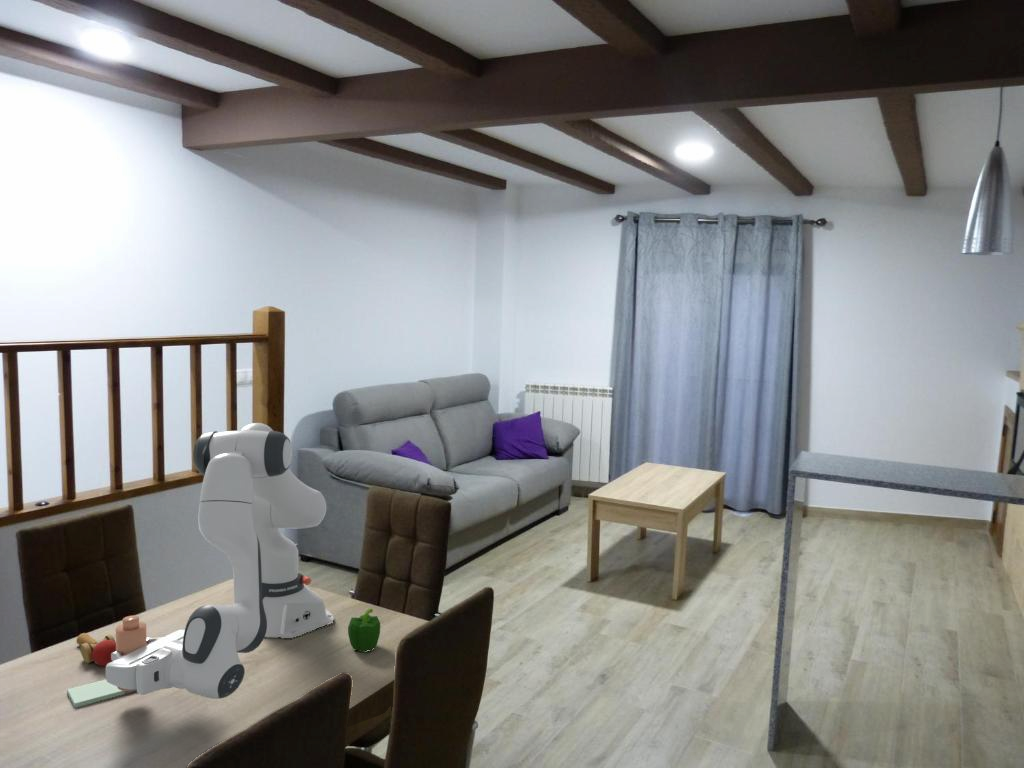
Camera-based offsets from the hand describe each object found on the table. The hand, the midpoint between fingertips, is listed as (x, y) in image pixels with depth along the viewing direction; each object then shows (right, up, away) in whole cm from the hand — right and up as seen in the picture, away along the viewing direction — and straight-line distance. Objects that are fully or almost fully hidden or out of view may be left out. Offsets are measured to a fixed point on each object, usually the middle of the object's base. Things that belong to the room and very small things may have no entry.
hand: (128, 648), depth 174 cm
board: (-6, -11, +8) cm, 15 cm away
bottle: (+1, -8, +1) cm, 8 cm away
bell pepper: (+46, -11, +32) cm, 57 cm away
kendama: (-19, -10, +22) cm, 31 cm away
